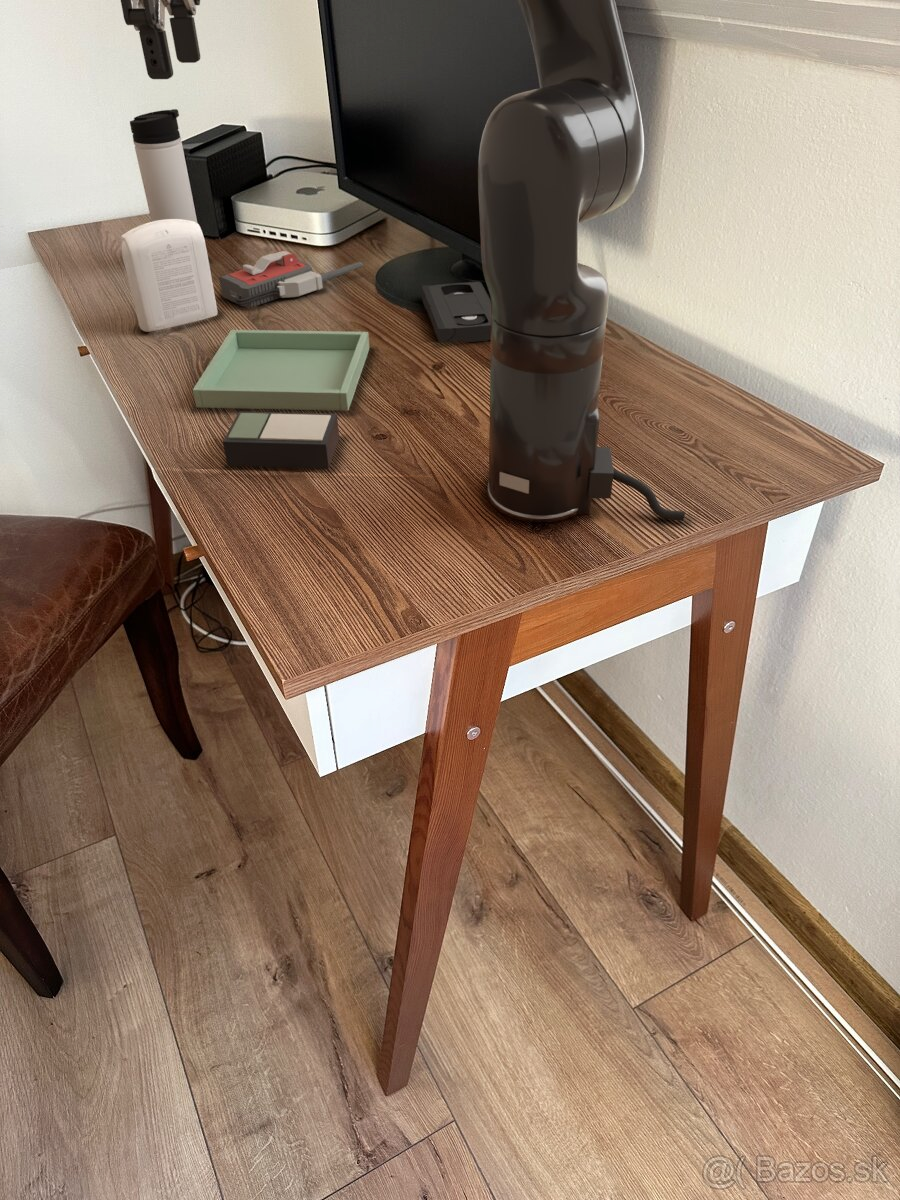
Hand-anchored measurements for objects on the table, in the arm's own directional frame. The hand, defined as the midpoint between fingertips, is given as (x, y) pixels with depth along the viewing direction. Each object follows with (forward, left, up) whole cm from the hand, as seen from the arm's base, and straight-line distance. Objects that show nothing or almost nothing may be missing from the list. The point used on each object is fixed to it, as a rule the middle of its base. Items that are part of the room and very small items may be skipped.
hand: (176, 69), depth 85 cm
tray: (-8, +4, -30) cm, 31 cm away
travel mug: (+16, -33, -30) cm, 48 cm away
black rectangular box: (-11, +20, -30) cm, 38 cm away
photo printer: (+10, -12, -30) cm, 34 cm away
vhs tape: (-26, -14, -30) cm, 42 cm away
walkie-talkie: (-2, -24, -30) cm, 39 cm away
